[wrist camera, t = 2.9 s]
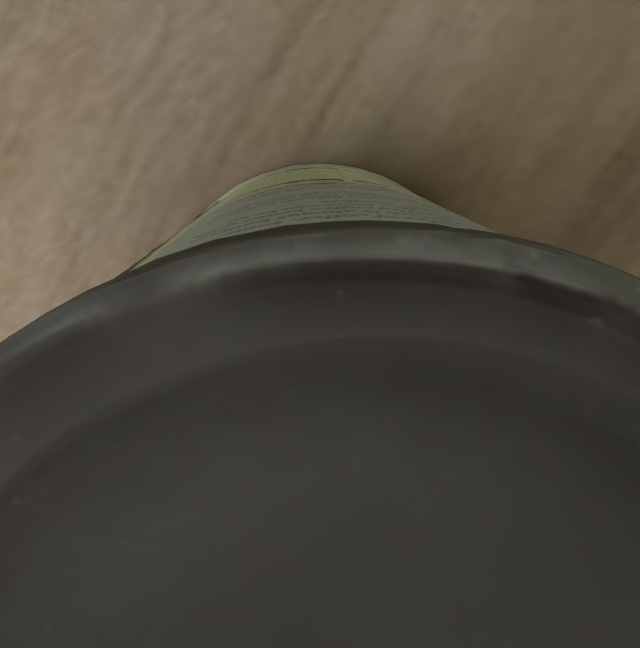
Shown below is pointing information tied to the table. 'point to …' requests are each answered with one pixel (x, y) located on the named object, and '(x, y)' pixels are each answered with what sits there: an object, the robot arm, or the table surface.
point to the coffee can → (327, 436)
